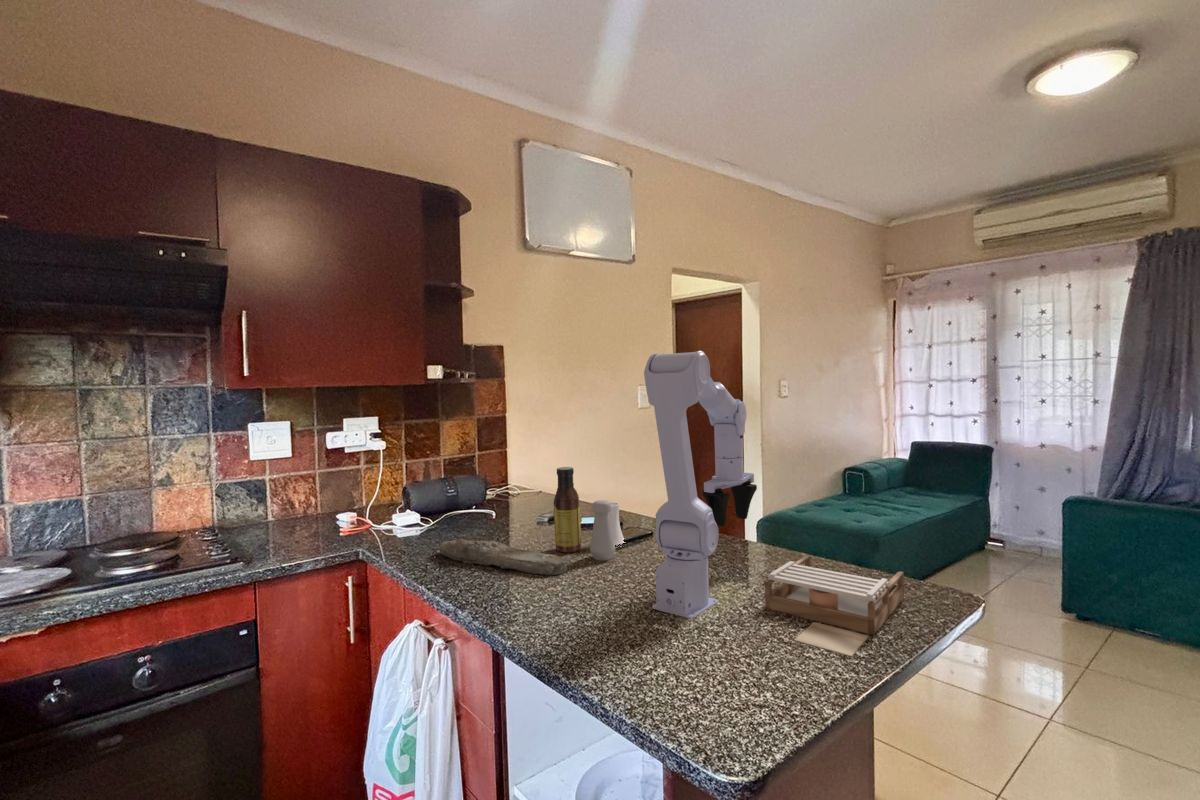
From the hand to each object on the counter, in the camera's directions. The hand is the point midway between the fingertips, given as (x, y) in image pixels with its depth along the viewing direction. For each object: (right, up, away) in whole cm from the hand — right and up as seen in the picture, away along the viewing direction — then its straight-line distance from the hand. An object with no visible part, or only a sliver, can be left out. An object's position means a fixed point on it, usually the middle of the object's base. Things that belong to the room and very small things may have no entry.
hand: (731, 521), depth 114 cm
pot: (+9, -10, -24) cm, 28 cm away
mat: (+7, -10, -33) cm, 36 cm away
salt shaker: (-27, -11, +10) cm, 31 cm away
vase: (-25, -11, +22) cm, 35 cm away
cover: (+11, -5, -23) cm, 26 cm away
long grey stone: (-50, -12, +9) cm, 52 cm away
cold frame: (+13, -10, -20) cm, 26 cm away
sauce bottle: (-35, -11, +17) cm, 41 cm away
